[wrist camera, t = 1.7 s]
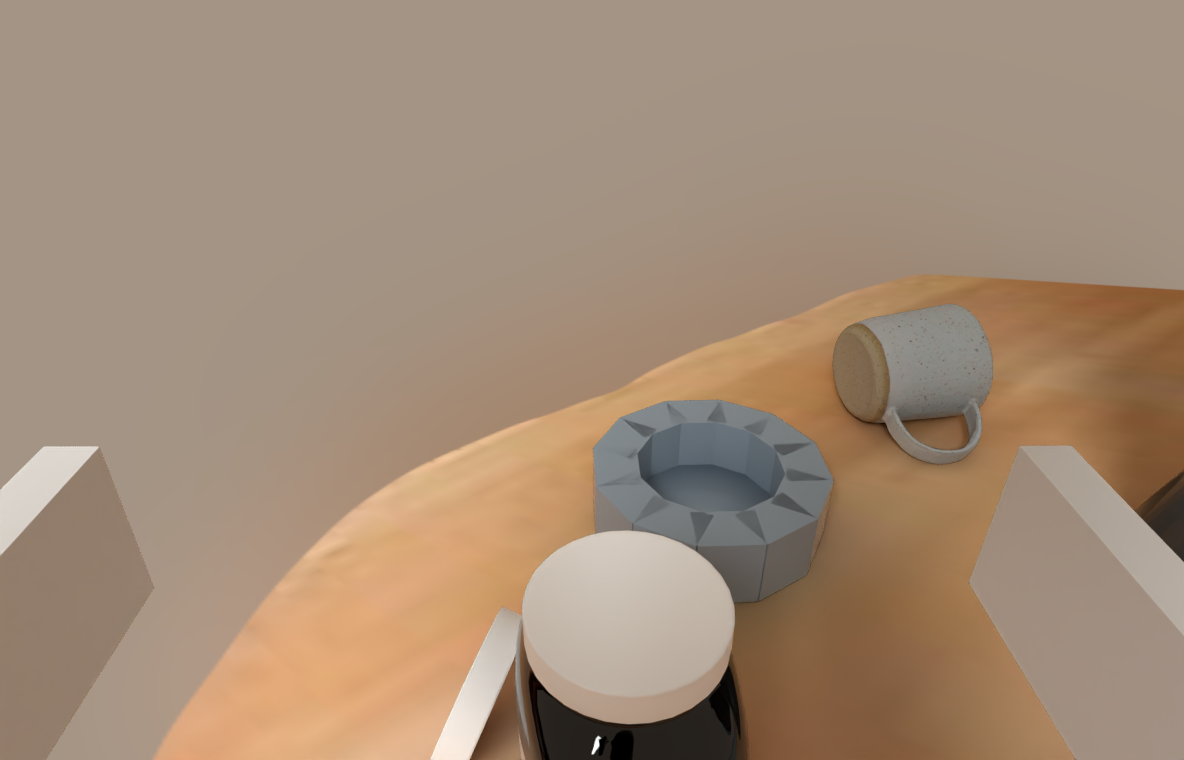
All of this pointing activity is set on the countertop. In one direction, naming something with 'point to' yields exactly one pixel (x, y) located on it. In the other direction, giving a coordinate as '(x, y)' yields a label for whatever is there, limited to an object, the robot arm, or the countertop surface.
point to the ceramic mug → (916, 373)
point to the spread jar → (612, 658)
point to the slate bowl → (717, 489)
